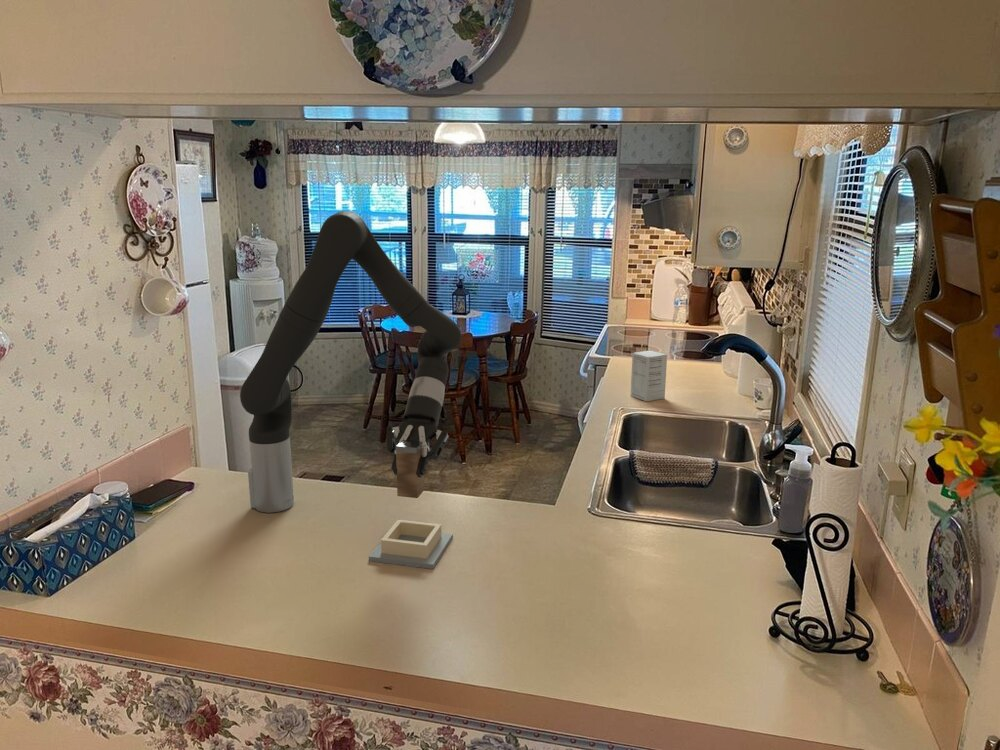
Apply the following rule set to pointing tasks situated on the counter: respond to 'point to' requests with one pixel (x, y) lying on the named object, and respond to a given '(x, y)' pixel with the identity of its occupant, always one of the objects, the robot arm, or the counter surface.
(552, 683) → the counter surface
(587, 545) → the counter surface
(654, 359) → the supplement box
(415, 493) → the tall grey-topped block
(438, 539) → the jig
